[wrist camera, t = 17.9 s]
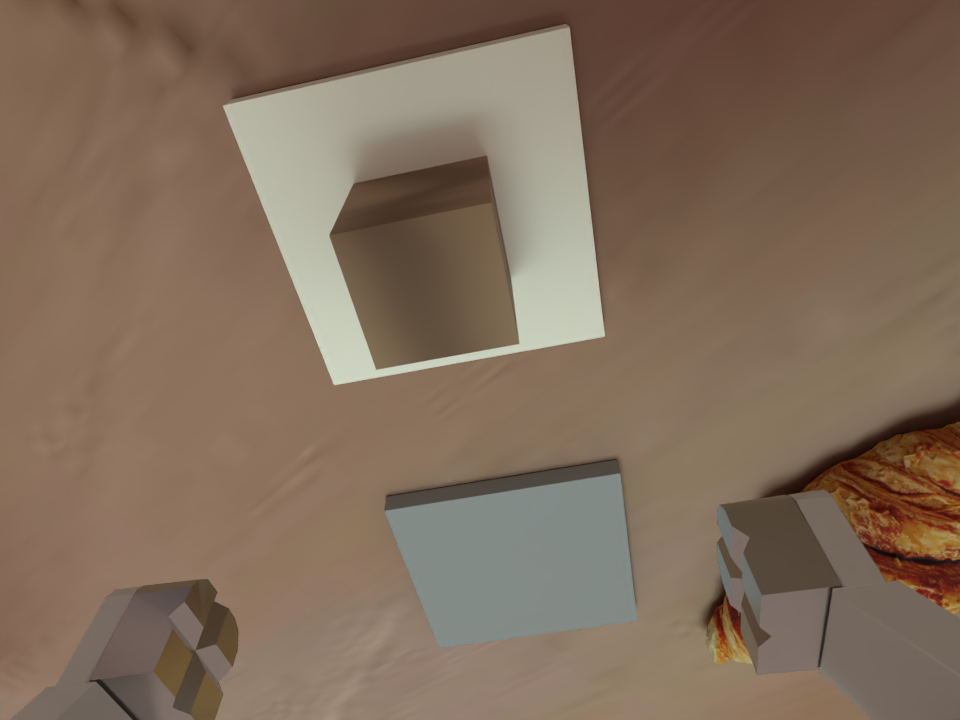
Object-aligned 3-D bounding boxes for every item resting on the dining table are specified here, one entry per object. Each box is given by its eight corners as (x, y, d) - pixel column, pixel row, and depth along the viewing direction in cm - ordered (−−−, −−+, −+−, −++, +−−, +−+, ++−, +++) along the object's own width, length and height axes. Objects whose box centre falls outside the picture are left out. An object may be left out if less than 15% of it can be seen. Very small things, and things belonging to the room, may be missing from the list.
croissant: (722, 594, 44) (806, 712, 39) (630, 619, 38) (717, 763, 33) (989, 371, 34) (1148, 493, 29) (924, 353, 28) (1113, 507, 23)
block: (486, 155, 23) (491, 202, 19) (511, 279, 26) (519, 343, 22) (353, 183, 24) (329, 235, 20) (390, 301, 26) (376, 369, 22)
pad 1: (565, 23, 22) (569, 27, 21) (600, 324, 28) (604, 336, 28) (231, 99, 23) (222, 105, 22) (338, 372, 29) (334, 385, 29)
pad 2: (616, 459, 33) (620, 473, 32) (633, 606, 39) (637, 620, 38) (386, 496, 34) (384, 510, 33) (439, 633, 40) (439, 648, 39)
